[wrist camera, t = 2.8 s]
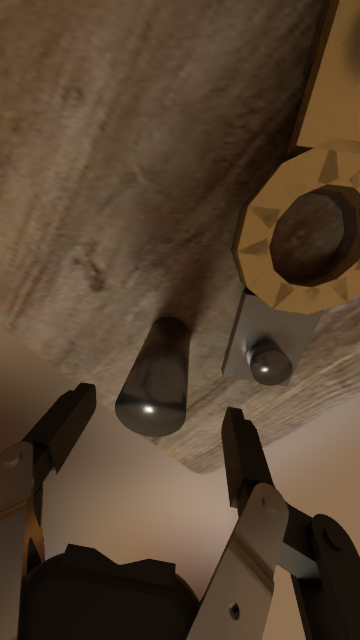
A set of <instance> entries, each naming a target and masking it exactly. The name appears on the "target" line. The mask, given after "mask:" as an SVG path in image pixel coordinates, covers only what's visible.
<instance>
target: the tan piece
mask: <svg viewBox="0 0 360 640" xmlns="http://www.w3.org/2000/svg"><path fill="white" fill-rule="evenodd" d="M303 75H307V76H309V79H308V82H307V86H306V89H305V93H304V96H303V100H302V103H301V107H300V110H299V114H298V117H297V121H296V124H295V127H294V131H293V134H292V138H291V141H290V145H289V148H288V152H287V154H292V155H298V156H296V157H294V158H292V159H290V160H288V161H286V162H283V163H282V164H281V165H279V166H278V167H277V168H276V169H275V170H273V171H272V172H271V173H270V174H269V175H267V177H266V179H265V180H264V181H263V182H262V184H261V185H260V186H259V187H258V189H257V190H256V191H255V192H254V194H253V195H252V196H251V198H250V199H249V200H248V201H247V203H246V204H245V205H244V206H243V208H242V209H241V210H240V213H239V217H238V222H237V226H236V230H235V235H234V239H233V243H232V248H231V250H232V254H233V257H234V261H235V264H236V268H237V271H238V274H239V278H240V281H241V282H242V283H243V284H244V285H245V286H246V287H247V288H248V289H250V290H251V291H252V292H248V291H243V292H242V296H241V300H240V303H239V307H238V310H237V314H236V318H235V321H234V325H233V328H232V332H231V336H230V339H229V343H228V346H227V350H226V354H225V357H224V361H223V364H222V368H221V370H222V375H223V376H224V377H230V378H236V379H243V380H249V381H256V382H259V383H261V384H263V385H281V386H287V385H288V383H289V381H290V379H291V377H292V375H293V373H294V371H295V369H296V367H297V364H298V362H299V360H300V358H301V356H302V354H303V352H304V350H305V348H306V346H307V344H308V342H309V340H310V338H311V335H312V333H313V331H314V329H315V327H316V325H317V323H318V321H319V319H320V317H321V315H322V313H323V311H324V309H327V308H330V307H333V306H337V305H340V304H343V303H347V302H348V301H350V300H351V299H352V298H353V297H355V296H356V295H357V294H358V293H360V0H324V1H323V4H322V8H321V12H320V15H319V19H318V22H317V26H316V30H315V33H314V37H313V40H312V44H311V48H310V51H309V55H308V58H307V62H306V66H305V69H304V73H303ZM305 193H314V194H321V195H328V196H329V197H330V198H331V199H332V200H333V201H334V202H335V203H336V204H337V205H338V207H339V208H340V209H341V210H342V211H343V218H344V232H345V235H344V237H343V239H342V241H341V244H340V246H339V248H338V250H337V252H336V255H335V257H334V258H333V259H332V260H330V261H329V262H328V263H327V264H326V265H325V266H324V267H323V268H322V269H321V270H319V271H318V272H317V273H316V274H313V275H310V276H307V277H304V278H301V279H298V280H290V279H283V278H282V277H281V276H280V275H279V274H278V273H276V272H275V271H274V268H273V264H272V259H271V255H270V250H269V245H270V242H271V239H272V236H273V232H274V229H275V226H276V223H277V220H278V219H279V218H280V217H281V216H282V214H283V213H284V212H285V211H286V210H287V209H288V208H289V207H290V205H291V204H292V203H293V202H294V201H295V200H296V199H297V198H298V197H299V196H301V195H303V194H305Z"/></svg>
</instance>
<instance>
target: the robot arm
mask: <svg viewBox="0 0 360 640" xmlns="http://www.w3.org/2000/svg"><path fill="white" fill-rule="evenodd" d="M95 408H96V389H95V385H94V384H88V383H80V384H79V385H78V386H77V388H76V389H75V390H74V391H72V390H69V391H68V392H66V393H65V394H63V395H62V396H60V397H59V398H58V400H57V401H56V402H55V403H54V404H53V406H52V407H51V408H50V409H49V410H48V412H47V413H46V414H44V416H43V417H42V418H41V419H40V420H39V421H38V423H37V424H36V425H35V426H34V427H33V428H32V429H31V431H30V432H29V433H28V434H27V435H26V436H25V437H24V438H23V439H22V440H21V441H20V442H17V443H14V444H12V445H10V446H8V447H6V448H5V449H3V450H2V451H1V452H0V640H262V636H263V632H264V628H265V624H266V620H267V616H268V612H269V608H270V604H271V601H272V596H273V591H274V581H273V576H274V572H275V568H276V564H277V565H279V566H280V567H282V568H283V569H285V570H287V571H288V572H289V573H290V575H291V579H292V583H293V587H294V591H295V595H296V600H297V604H298V608H299V612H300V616H301V620H302V625H303V629H304V632H305V637H306V640H360V557H359V555H358V553H357V550H356V548H355V546H354V544H353V542H352V541H351V539H350V537H349V535H348V534H347V533H346V531H345V530H344V529H343V528H342V527H341V526H340V525H339V524H338V523H337V522H336V521H335V520H334V519H332V518H331V517H328V516H327V515H324V514H317V515H315V516H314V517H313V518H312V517H310V516H308V515H307V514H305V513H303V512H301V511H299V510H297V509H296V508H294V507H292V506H291V505H289V504H288V503H287V502H286V501H285V500H284V498H283V497H282V495H281V494H280V493H279V491H278V490H276V488H275V486H274V484H273V481H272V478H271V474H270V471H269V468H268V465H267V462H266V458H265V455H264V452H263V450H262V445H261V442H260V439H259V436H258V432H257V429H256V428H255V426H254V425H253V424H252V422H251V421H250V420H245V419H244V415H243V412H242V409H239V408H233V407H228V408H227V410H226V414H225V417H224V420H223V423H222V430H221V435H222V444H223V452H224V460H225V468H226V477H227V485H228V492H229V500H230V507H234V508H237V509H238V516H239V519H238V521H237V523H236V525H235V528H234V530H233V532H232V534H231V536H230V538H229V540H228V542H227V545H226V547H225V549H224V551H223V553H222V556H221V558H220V560H219V562H218V564H217V566H216V568H215V570H214V573H213V575H212V577H211V579H210V581H209V583H208V585H207V587H206V590H205V592H204V594H203V596H202V598H201V600H200V602H199V600H198V598H197V596H196V595H195V593H194V592H193V590H192V589H191V587H190V586H189V585H188V584H187V583H186V581H185V580H184V579H183V578H181V577H180V576H179V575H178V574H176V573H175V566H176V564H174V563H168V562H163V561H158V560H152V559H146V560H141V561H137V562H132V563H128V564H124V565H118V564H116V563H114V562H113V561H112V560H110V559H109V558H107V557H106V556H104V555H103V554H101V553H100V552H99V551H97V550H96V549H94V548H89V547H83V546H78V545H73V544H68V546H67V548H66V550H65V553H62V554H59V555H56V556H54V557H52V558H50V559H48V560H46V561H45V544H44V537H43V482H44V480H45V478H46V477H47V475H48V474H54V475H57V474H58V472H59V470H60V469H61V467H62V465H63V464H64V462H65V460H66V459H67V457H68V455H69V454H70V452H71V450H72V448H73V447H74V445H75V444H76V442H77V440H78V439H79V437H80V435H81V433H82V432H83V430H84V429H85V427H86V425H87V423H88V422H89V420H90V418H91V417H92V415H93V413H94V411H95Z"/></svg>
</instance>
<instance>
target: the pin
mask: <svg viewBox="0 0 360 640" xmlns="http://www.w3.org/2000/svg"><path fill="white" fill-rule="evenodd" d="M189 348H190V331H189V329H188V327H187V325H186V324H185V323H184V322H182V321H181V320H179V319H177V318H174V317H164V318H161V319H159V320H157V321H156V322H155V323H154V324H153V325H152V327H151V329H150V331H149V333H148V336H147V338H146V340H145V342H144V344H143V346H142V348H141V350H140V352H139V354H138V356H137V358H136V361H135V363H134V365H133V367H132V369H131V371H130V373H129V375H128V377H127V379H126V381H125V383H124V386H123V388H122V390H121V392H120V394H119V396H118V398H117V400H116V403H115V412H116V415H117V417H118V419H119V420H120V421H121V423H122V424H123V425H124V426H126V427H127V428H128V429H130V430H131V431H133V432H135V433H138V434H141V435H144V436H150V437H161V436H167V435H170V434H172V433H174V432H176V431H178V430H179V429H180V428H181V427H182V425H183V424H184V422H185V419H186V404H187V385H188V367H189Z"/></svg>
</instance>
